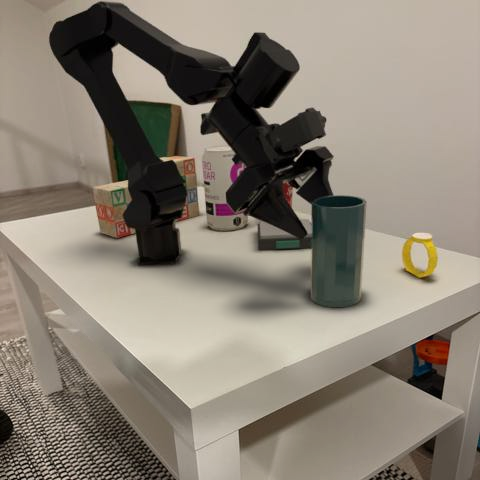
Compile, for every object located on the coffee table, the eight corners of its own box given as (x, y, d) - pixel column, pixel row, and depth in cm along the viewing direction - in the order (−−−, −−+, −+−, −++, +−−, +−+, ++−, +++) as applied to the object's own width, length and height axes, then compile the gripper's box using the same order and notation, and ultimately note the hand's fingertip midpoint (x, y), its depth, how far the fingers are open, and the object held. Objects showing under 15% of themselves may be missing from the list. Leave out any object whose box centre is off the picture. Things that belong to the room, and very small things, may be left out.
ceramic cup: (313, 308, 66) (315, 209, 60) (308, 288, 72) (309, 196, 66) (364, 306, 66) (371, 206, 60) (355, 286, 72) (360, 194, 66)
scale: (258, 251, 88) (258, 237, 87) (257, 233, 97) (257, 220, 96) (317, 248, 87) (317, 234, 86) (310, 231, 97) (310, 218, 96)
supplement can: (255, 222, 104) (252, 145, 97) (233, 233, 98) (228, 152, 91) (222, 218, 108) (217, 144, 101) (199, 229, 102) (192, 150, 95)
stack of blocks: (117, 239, 98) (106, 174, 93) (99, 233, 102) (88, 170, 97) (200, 214, 111) (195, 156, 106) (181, 210, 115) (176, 154, 110)
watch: (396, 269, 77) (399, 231, 74) (411, 266, 78) (415, 228, 75) (423, 282, 72) (428, 242, 69) (439, 279, 73) (444, 239, 70)
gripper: (239, 91, 55) (330, 203, 54) (321, 82, 68) (395, 171, 67) (191, 163, 63) (269, 262, 61) (273, 142, 76) (339, 223, 75)
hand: (322, 227), depth 66 cm, fingers open, 9 cm apart
